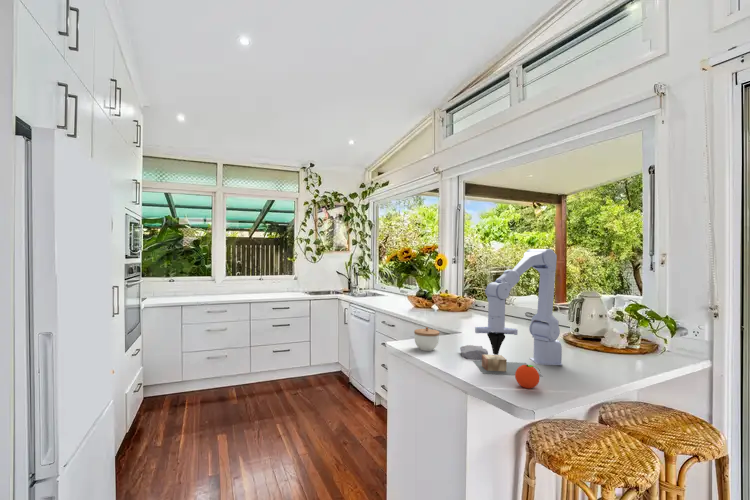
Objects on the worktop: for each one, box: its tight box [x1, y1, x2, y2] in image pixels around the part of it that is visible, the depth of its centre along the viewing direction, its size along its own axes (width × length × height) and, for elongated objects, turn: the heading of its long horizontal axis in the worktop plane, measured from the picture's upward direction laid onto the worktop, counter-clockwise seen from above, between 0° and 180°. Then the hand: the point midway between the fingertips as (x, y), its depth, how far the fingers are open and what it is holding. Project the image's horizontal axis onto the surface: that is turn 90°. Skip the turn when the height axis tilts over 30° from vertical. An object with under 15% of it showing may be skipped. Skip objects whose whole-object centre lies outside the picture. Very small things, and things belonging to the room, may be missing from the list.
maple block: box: [481, 354, 508, 371], centre depth 131 cm, size 4×6×7 cm
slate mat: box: [472, 360, 544, 378], centre depth 132 cm, size 20×16×1 cm
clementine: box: [514, 364, 541, 389], centre depth 113 cm, size 8×7×7 cm
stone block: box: [459, 344, 489, 360], centre depth 148 cm, size 12×5×10 cm
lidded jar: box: [413, 326, 440, 352], centre depth 157 cm, size 11×11×9 cm
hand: (495, 354), depth 131 cm, fingers closed
